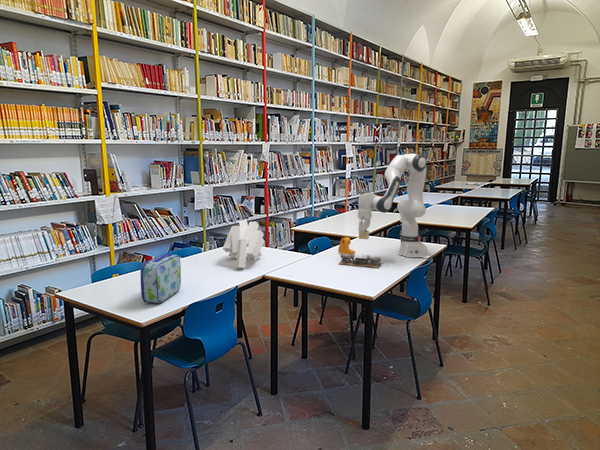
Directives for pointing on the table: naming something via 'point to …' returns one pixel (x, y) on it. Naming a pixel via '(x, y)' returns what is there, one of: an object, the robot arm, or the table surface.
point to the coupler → (364, 236)
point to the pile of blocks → (244, 242)
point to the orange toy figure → (345, 246)
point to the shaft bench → (360, 261)
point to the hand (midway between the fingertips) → (363, 236)
